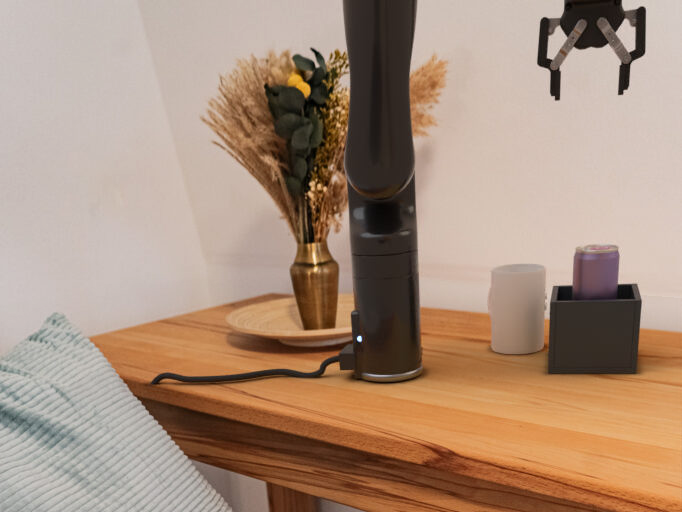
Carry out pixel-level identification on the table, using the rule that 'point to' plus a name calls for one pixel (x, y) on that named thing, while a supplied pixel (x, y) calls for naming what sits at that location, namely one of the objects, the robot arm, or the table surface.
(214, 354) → the table surface
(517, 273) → the mug
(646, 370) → the table surface
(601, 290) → the beverage can
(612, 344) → the waste bin
